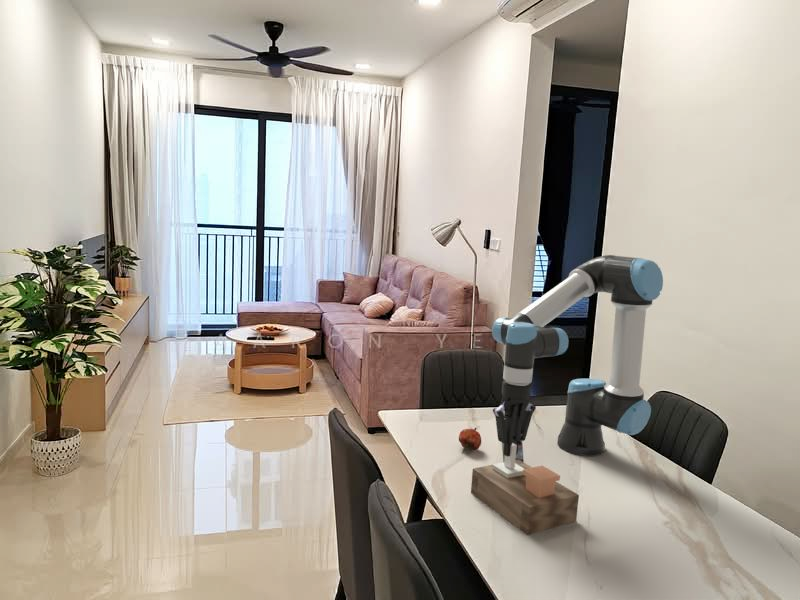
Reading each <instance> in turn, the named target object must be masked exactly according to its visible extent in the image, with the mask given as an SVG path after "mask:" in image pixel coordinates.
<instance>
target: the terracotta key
mask: <svg viewBox="0 0 800 600" xmlns="http://www.w3.org/2000/svg"><path fill="white" fill-rule="evenodd" d="M523 474H524V475H525V476H527V477H526V488H525V490H527V491H528V492H530V493H531V494H533V495H534V496H536V497H538V498H542V497H546V496H550V495H554V490H555V481H556V482H559V481H560V479H561V475H559V474H558V473H556V472H555V471H553V470H551V469H549V468H547V467H545V466H544V465H539V466H534V467H532V468H528V469H523Z"/></svg>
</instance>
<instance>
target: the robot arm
mask: <svg viewBox="0 0 800 600" xmlns="http://www.w3.org/2000/svg"><path fill="white" fill-rule="evenodd" d="M663 286H664V278H663V272H662V270H661V268H660V266H659V264H657V263H656V262H655V261H653V260H650V259H646V258H642V257H633V256H632V257H631V256H621V255H615V254H614V255H613V254H607V255H601V256H597V257H594V258H592V259H590V260H587V261H586V262H584V263H582V264H580V265H578V266H577V267H576V268H574V269H572V270H571V271H570V272H569V274H568V276H567V278H565V279H564V280H562V282H561V281H560V282H559V283H558V284H557V285H556V286H554V287H553V288H551V289H550V290H549V291H547V292H546V293H544V294H543V295H541V297H539V298H537V299H536V300H535V301H533V302H532V303H529V305H527V306H525V307H524V308H523V309H521V311H519V312H518V313H516V314H515V315H513V316H512V317H510V318H509V317H499V318H497V319H496V320H495V321H494V322H493V325H492V327H491V334H492V337H493V339H494V341H496V342H498V343H500V344H502V345H504V346H505V347H504V348H505V349H504V351H505V352H504V364H503V374H502V375H503V376H502V379H503V381H502V383H501V384H502V385H501V395H502V399H501V402H500V405H499V406H498V407H494V408H493V409H492V412H493V414H494V416H495V426H496V434H497V440H498V442H500V443H501V444H502V443H504V451H502V455H503V454H504V455H505V458H504V465H505V466H506V467H508V468H510V469H513V468H515V459H516V455H517V453H518V445H521V444H522V445H523V442H524V441H526V438H527V434H528V431H529V427H530V423H531V422H532V421H531V420H532V417H533V414H534V412H535V410H536V409H537V408H536V406H535V405H534V404H532V403H530V399H529V398H531V394H532V393H531V392H532V384H531V383H532V382H533V374H534V363H535V359H538V358H546V357H547V358H549V357H555V356H559V355H563V354H565V353H566V351H567V350H568V348H569V337H568V334H567V332H566V331H565V330H564V329H562V328H559V327H553V326H552V327H545V326H546V325H547V324H549V323H551V322H552V321H553V320H554V319H556V318H557V317H559V316H560V315H562V314H563V313H564V312H566V311H567V310H568V309H569V308H570V307H572V306H574V305H575V304H576V303H577V302H578V301H580V300H582V299H583V298H589V297H591V296H592V295H594V294H597V293H608V294H611V297H610V302H611V304H613V306H614V307H615V313H614V325H613V338H612V350H611V360H610V361H611V362H610V363H611V365H610V374H609V375H610V376H609V382H608V383H607V382H606V381H605V380H603V379H599V378H576V379H575V378H574V379H572V380H570V382H569V384H568V390H567V392H566V393H567V396H566V405H565V406H566V408H565V418H564V423H563V424H562V427H561V430H560V432H559V434H558V435H557V446H558V447H559V448H560V449H562V450H563V451H565V452H567V453H570V454H571V453H572V454H575V455H579V456H587V457H588V456H589V457H594V456H595V457H596V456H600V455H602V454H604V453H605V448H606V443H605V441H604V436H603V430H602V427H607V428H609V429H611V430H613V431H616V432H618V433H621V434H626V435H628V436H634V435H636V434H639V433H641V432H642V430H644V428H645V427H646V425H647V424H648V422H649V420H650V417H651V413H652V406H651V405H650V403H649V401H647V399H646V400H645V399H644V394H645V390H644V389H643V388H642V387H641V386H640V379H641V372H642V360H643V351H644V349H643V347H644V337H645V327H646V326H645V325H646V316H647V309H648V308H650V307H651V306H652V305H653V301H655V300H656V299H658V297H659V296H660V295H661V291H662V290H663ZM521 434H522V435H521ZM520 441H522V443H521V442H520Z"/></svg>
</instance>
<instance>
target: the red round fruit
mask: <svg viewBox="0 0 800 600" xmlns="http://www.w3.org/2000/svg"><path fill="white" fill-rule="evenodd" d="M458 441H459V443H460V444H461V446H462V447H463V448H464V449H463V451H462V454H464V453H465V451H466V449H467V450H471V451H477V450H478V449H479V448H480V447H481V446H482V437H481V434H480V433H479V431H477V427H475V428H466V429H465V428H464V429H462V430H461V431H460V432H459V435H458Z"/></svg>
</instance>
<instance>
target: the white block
mask: <svg viewBox="0 0 800 600" xmlns="http://www.w3.org/2000/svg"><path fill="white" fill-rule="evenodd" d="M492 465H493V466H492V469H494V470H495V471H497V472H498V473H500V474H501V475H503V476H504V477H506V478H511V477H516V476H521V475H524V474H523V469H524V468H522V467H521V466H519V465H517V464H516V463H515V468H513V469H510V468H508V467H506V466H505V465H504V462H497V463H493V464H492Z"/></svg>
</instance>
